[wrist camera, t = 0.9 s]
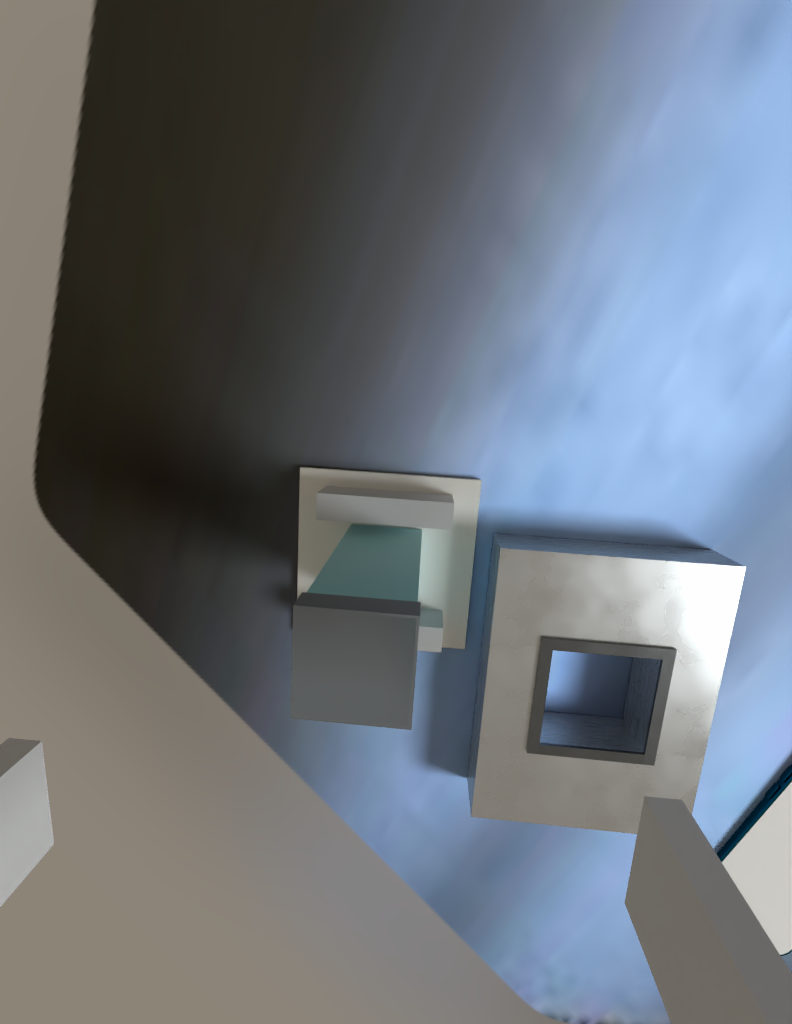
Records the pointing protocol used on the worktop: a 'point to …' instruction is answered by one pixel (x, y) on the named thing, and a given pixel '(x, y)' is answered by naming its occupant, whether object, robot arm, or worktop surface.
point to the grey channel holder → (400, 504)
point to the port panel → (609, 631)
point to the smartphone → (766, 862)
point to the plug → (360, 632)
